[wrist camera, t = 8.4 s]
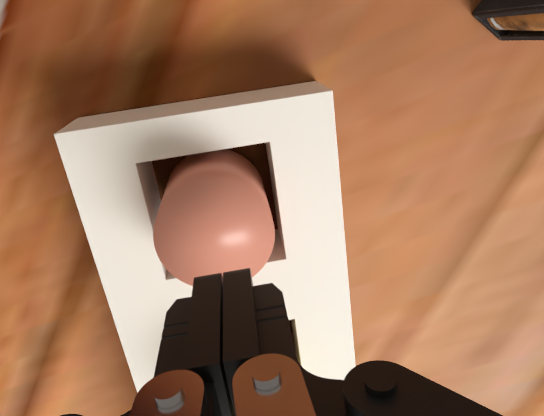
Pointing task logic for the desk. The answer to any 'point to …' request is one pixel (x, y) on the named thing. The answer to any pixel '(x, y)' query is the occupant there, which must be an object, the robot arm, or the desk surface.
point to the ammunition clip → (512, 18)
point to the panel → (287, 199)
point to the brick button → (213, 217)
